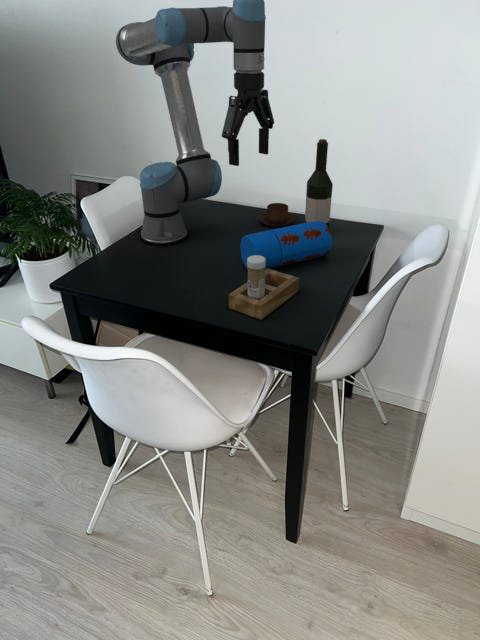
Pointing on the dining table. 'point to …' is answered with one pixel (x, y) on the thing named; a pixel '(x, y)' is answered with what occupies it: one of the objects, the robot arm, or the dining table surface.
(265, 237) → the thermos
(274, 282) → the holder
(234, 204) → the dining table surface
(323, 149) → the wine bottle
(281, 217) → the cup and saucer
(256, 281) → the spice jar
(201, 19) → the robot arm
